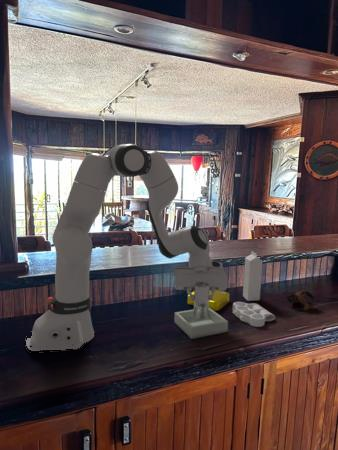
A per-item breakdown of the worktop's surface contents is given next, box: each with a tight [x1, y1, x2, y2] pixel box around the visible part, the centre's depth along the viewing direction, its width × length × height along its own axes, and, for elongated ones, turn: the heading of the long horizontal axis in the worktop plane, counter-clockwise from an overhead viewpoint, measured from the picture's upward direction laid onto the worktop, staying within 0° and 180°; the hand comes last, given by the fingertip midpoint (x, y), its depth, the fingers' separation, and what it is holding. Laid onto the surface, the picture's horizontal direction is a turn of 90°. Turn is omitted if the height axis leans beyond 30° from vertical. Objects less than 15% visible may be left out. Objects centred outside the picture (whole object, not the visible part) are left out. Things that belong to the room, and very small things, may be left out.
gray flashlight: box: [193, 282, 210, 319], centre depth 124 cm, size 6×6×13 cm
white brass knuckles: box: [231, 301, 276, 328], centre depth 136 cm, size 3×18×15 cm
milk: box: [242, 250, 263, 302], centre depth 155 cm, size 6×6×22 cm
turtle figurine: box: [285, 289, 316, 312], centre depth 147 cm, size 12×10×8 cm
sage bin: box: [174, 308, 229, 340], centre depth 125 cm, size 15×14×4 cm
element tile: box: [187, 290, 231, 312], centre depth 150 cm, size 15×15×5 cm
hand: (201, 300), depth 123 cm, fingers closed on gray flashlight, 5 cm apart
